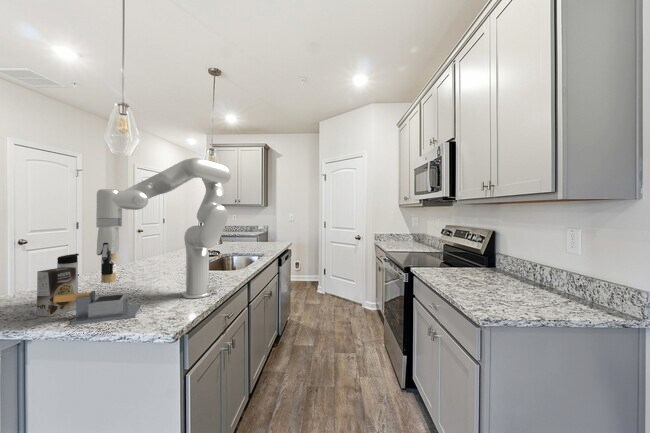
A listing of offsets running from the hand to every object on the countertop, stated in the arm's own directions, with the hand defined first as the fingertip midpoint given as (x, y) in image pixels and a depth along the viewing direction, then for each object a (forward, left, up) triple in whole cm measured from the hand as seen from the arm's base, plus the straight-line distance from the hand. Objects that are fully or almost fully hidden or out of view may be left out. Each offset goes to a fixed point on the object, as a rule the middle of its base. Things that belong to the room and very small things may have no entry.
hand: (109, 272), depth 106 cm
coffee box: (+18, -10, -16) cm, 26 cm away
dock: (0, 0, -15) cm, 15 cm away
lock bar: (+10, 0, -9) cm, 13 cm away
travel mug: (+18, -21, -16) cm, 32 cm away
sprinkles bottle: (0, 0, -4) cm, 4 cm away
